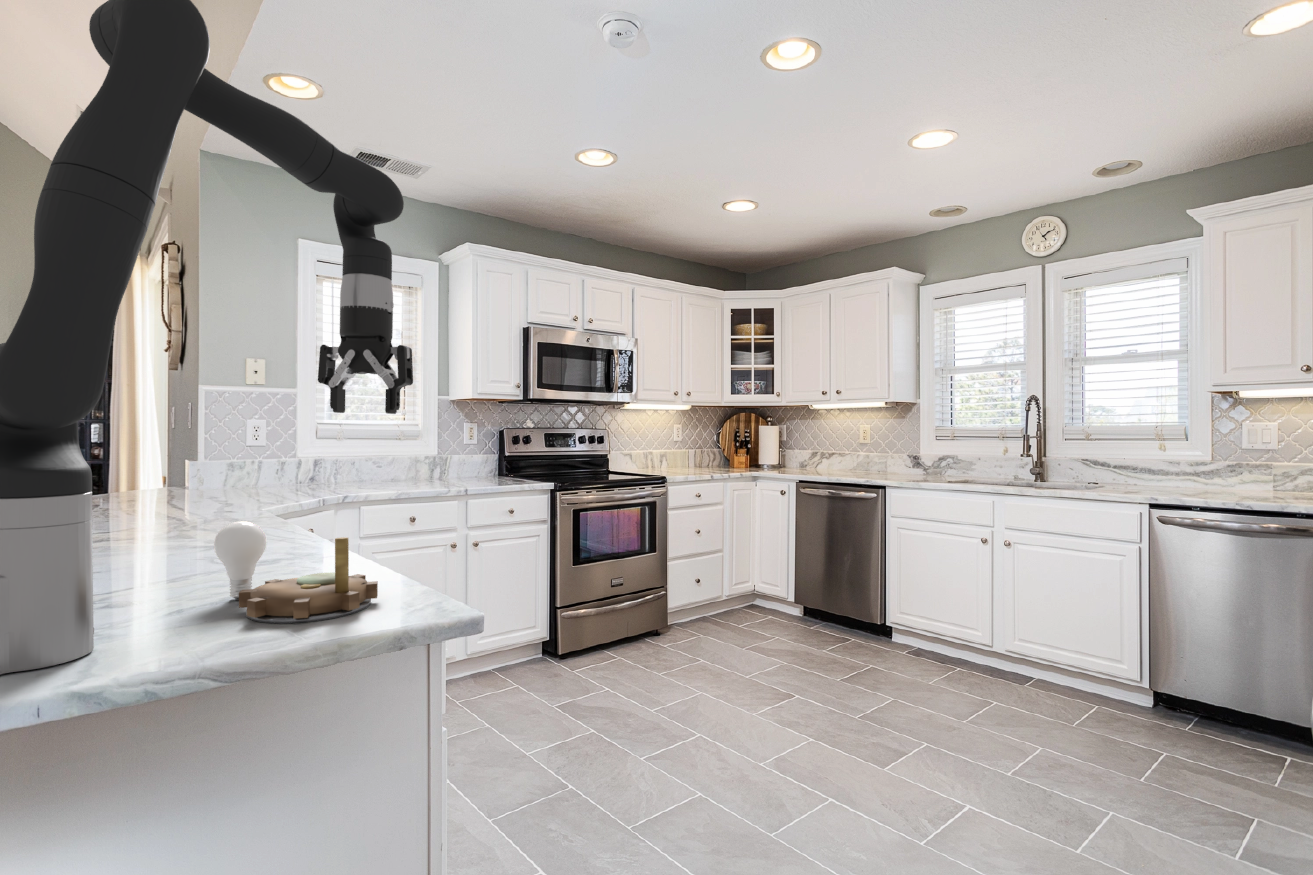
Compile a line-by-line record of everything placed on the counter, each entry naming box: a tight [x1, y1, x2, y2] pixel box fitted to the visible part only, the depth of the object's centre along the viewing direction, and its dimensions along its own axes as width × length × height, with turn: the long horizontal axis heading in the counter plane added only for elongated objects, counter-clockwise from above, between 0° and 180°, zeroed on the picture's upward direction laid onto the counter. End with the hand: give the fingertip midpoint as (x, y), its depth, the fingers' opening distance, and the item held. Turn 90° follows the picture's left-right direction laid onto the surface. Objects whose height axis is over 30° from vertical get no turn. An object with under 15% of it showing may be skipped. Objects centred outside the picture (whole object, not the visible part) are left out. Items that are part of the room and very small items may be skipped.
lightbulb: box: [213, 520, 268, 601], centre depth 96 cm, size 6×6×11 cm
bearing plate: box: [245, 599, 372, 625], centre depth 92 cm, size 15×15×1 cm
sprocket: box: [238, 536, 379, 619], centre depth 92 cm, size 17×17×9 cm
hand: (365, 413), depth 106 cm, fingers open, 8 cm apart
